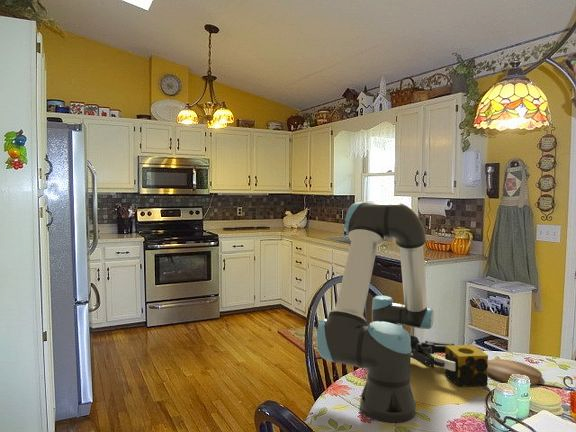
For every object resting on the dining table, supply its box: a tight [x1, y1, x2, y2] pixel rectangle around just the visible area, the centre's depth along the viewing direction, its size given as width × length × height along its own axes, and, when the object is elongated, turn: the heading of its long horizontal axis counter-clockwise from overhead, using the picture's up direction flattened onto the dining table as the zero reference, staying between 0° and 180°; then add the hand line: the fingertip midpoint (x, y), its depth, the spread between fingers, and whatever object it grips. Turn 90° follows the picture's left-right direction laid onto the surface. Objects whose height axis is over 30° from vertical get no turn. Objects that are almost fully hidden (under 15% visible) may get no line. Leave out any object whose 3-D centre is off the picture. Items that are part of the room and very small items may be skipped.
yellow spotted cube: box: [444, 344, 489, 387], centre depth 139 cm, size 10×10×10 cm
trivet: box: [487, 358, 543, 386], centre depth 145 cm, size 18×18×2 cm
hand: (464, 361), depth 140 cm, fingers closed on yellow spotted cube, 13 cm apart
